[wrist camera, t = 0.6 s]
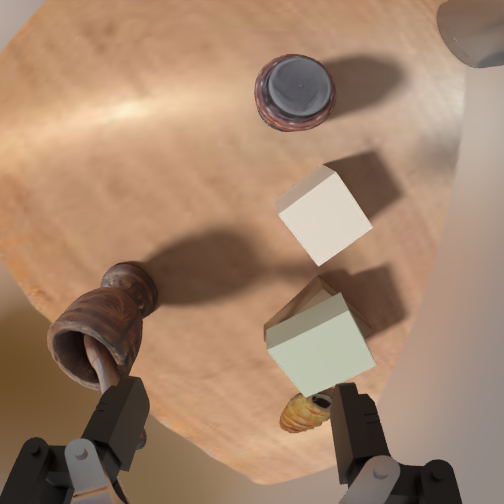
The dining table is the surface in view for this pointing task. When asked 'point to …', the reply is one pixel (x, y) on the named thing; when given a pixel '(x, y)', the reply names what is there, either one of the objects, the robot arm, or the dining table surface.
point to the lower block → (311, 297)
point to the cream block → (322, 214)
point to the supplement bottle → (294, 93)
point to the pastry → (305, 412)
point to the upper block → (320, 346)
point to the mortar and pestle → (104, 330)
